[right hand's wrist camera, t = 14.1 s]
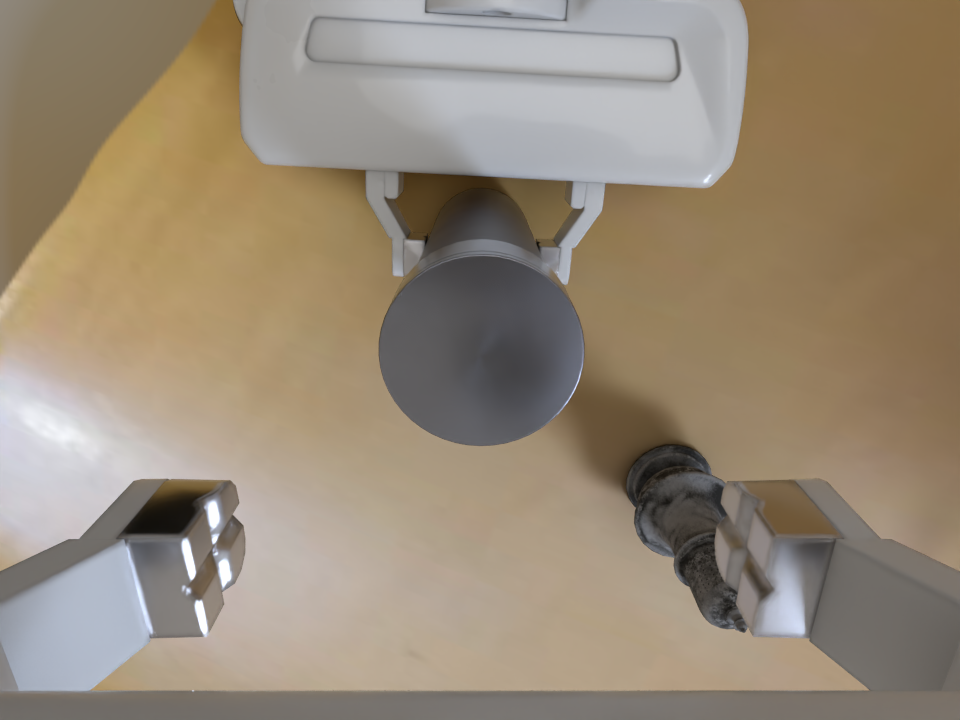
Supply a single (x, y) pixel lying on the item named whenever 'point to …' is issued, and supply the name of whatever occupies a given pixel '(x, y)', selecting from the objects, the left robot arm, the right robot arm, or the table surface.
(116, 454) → the table surface
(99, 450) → the table surface
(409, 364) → the lid
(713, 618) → the dark grey chess piece
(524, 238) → the grey tall cylinder
